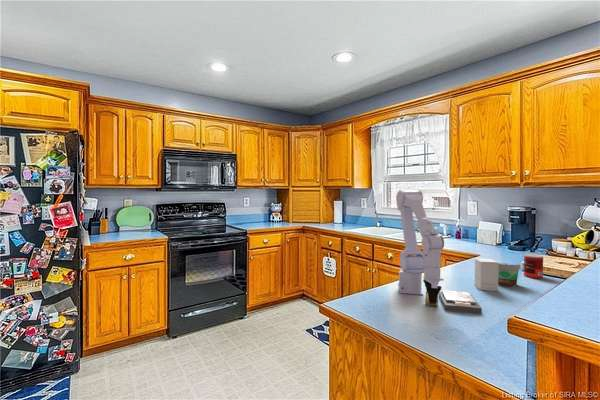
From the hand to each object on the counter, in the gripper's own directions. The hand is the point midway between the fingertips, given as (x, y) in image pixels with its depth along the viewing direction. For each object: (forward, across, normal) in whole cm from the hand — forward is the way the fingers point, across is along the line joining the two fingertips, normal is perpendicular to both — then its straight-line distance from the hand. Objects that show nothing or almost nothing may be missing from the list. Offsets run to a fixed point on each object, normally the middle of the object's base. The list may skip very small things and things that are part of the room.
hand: (431, 301), depth 119 cm
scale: (+1, +3, -10) cm, 11 cm away
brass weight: (+1, 0, 0) cm, 1 cm away
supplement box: (+2, +28, -26) cm, 38 cm away
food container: (+2, +35, -36) cm, 50 cm away
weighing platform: (-1, +4, -10) cm, 11 cm away
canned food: (+2, +54, -54) cm, 76 cm away
